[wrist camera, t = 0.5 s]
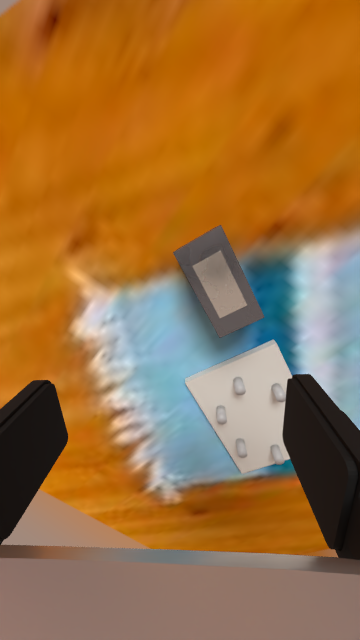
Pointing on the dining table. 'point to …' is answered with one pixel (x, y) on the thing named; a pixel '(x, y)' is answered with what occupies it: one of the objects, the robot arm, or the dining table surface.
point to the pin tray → (246, 405)
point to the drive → (219, 282)
